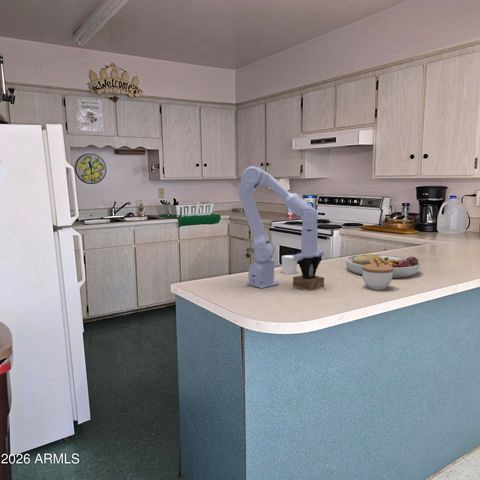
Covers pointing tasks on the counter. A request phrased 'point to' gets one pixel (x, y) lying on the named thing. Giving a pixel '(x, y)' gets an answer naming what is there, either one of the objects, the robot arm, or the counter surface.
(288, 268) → the shot glass
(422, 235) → the counter surface
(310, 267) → the pin
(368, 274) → the lidded jar
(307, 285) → the socket block
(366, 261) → the bowl
